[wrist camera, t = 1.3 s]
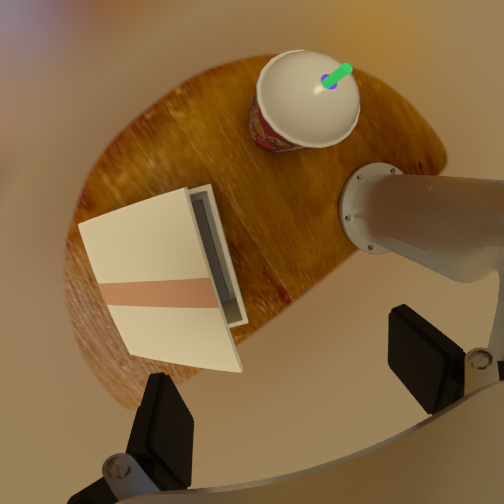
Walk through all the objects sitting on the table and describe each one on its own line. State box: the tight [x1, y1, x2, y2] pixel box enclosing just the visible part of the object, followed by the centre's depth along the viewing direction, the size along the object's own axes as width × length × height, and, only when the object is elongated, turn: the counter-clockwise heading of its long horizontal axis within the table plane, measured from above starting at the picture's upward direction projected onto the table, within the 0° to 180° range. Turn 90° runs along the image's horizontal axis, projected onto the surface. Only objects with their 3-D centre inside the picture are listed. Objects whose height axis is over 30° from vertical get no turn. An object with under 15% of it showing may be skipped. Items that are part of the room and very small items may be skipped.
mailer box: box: [188, 184, 248, 328], centre depth 31 cm, size 14×15×7 cm
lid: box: [78, 187, 243, 373], centre depth 23 cm, size 14×16×1 cm
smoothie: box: [248, 49, 360, 153], centre depth 22 cm, size 8×8×20 cm
